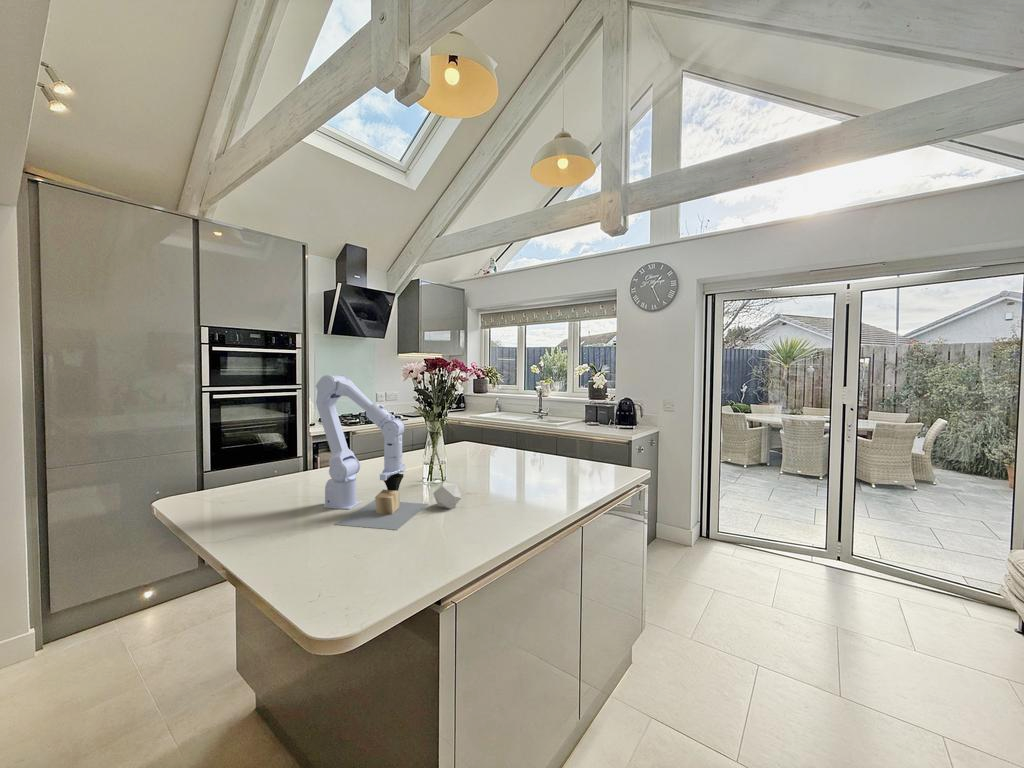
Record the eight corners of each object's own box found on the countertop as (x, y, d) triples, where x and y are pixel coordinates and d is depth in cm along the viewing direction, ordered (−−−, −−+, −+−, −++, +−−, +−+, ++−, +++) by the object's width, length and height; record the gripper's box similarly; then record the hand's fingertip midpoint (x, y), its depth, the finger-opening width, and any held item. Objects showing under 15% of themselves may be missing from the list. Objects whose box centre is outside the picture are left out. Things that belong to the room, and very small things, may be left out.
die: (465, 507, 144) (457, 481, 149) (460, 501, 137) (452, 474, 141) (442, 516, 144) (435, 490, 148) (436, 511, 136) (428, 483, 140)
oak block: (384, 505, 140) (376, 513, 135) (383, 489, 139) (375, 496, 134) (400, 506, 139) (392, 514, 134) (398, 490, 138) (391, 498, 133)
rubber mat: (333, 525, 125) (333, 524, 125) (374, 500, 148) (374, 500, 148) (397, 530, 121) (397, 529, 121) (428, 504, 145) (428, 503, 145)
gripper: (394, 461, 132) (394, 504, 133) (413, 452, 146) (413, 491, 147) (373, 459, 133) (373, 502, 134) (394, 451, 148) (394, 490, 148)
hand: (393, 496), depth 140 cm, fingers closed
